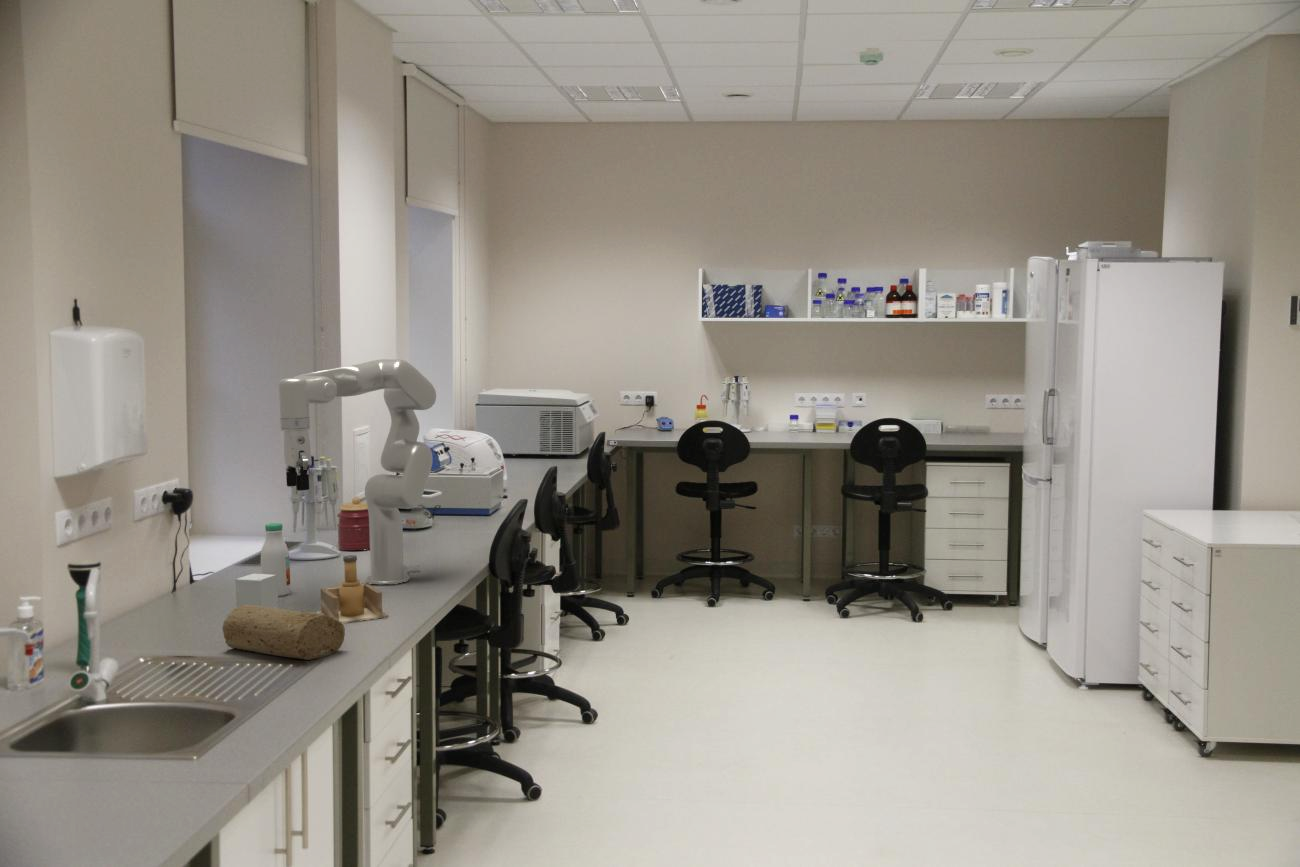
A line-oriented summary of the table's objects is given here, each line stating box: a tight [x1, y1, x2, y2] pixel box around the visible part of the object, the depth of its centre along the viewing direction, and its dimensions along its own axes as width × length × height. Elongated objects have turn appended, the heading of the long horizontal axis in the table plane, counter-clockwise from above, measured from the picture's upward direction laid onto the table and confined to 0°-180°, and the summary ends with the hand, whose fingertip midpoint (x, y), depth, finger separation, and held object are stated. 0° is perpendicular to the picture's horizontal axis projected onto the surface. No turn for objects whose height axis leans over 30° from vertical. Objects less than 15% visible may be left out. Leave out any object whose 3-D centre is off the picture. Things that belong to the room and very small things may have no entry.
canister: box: [336, 496, 370, 551], centre depth 403 cm, size 13×13×18 cm
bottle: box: [338, 554, 364, 617], centre depth 305 cm, size 6×6×15 cm
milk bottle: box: [260, 522, 292, 597], centre depth 332 cm, size 8×8×20 cm
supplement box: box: [235, 573, 279, 609], centre depth 296 cm, size 7×7×13 cm
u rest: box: [315, 583, 389, 624], centre depth 306 cm, size 15×14×7 cm
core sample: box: [221, 604, 346, 661], centre depth 272 cm, size 14×26×10 cm, turn 62°
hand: (297, 488), depth 317 cm, fingers open, 9 cm apart
